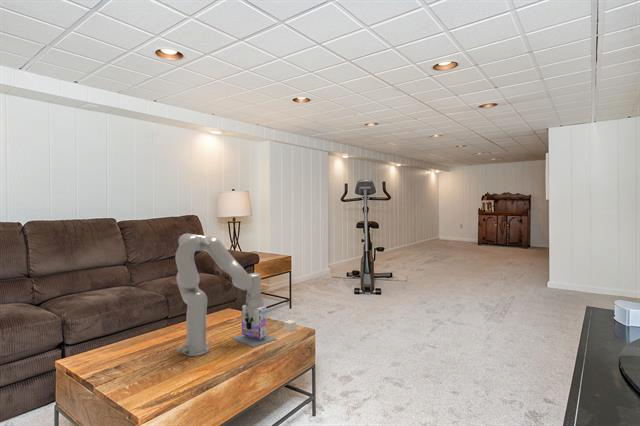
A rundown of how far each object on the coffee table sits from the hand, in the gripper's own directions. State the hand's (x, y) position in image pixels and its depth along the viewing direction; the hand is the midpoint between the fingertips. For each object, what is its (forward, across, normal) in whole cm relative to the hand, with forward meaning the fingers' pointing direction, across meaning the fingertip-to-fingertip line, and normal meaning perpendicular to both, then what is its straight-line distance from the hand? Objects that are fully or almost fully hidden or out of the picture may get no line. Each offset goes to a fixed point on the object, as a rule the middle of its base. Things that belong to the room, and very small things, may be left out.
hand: (253, 327), depth 200 cm
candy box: (+5, 0, 0) cm, 5 cm away
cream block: (+7, +24, -4) cm, 25 cm away
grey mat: (+7, 0, 0) cm, 7 cm away
